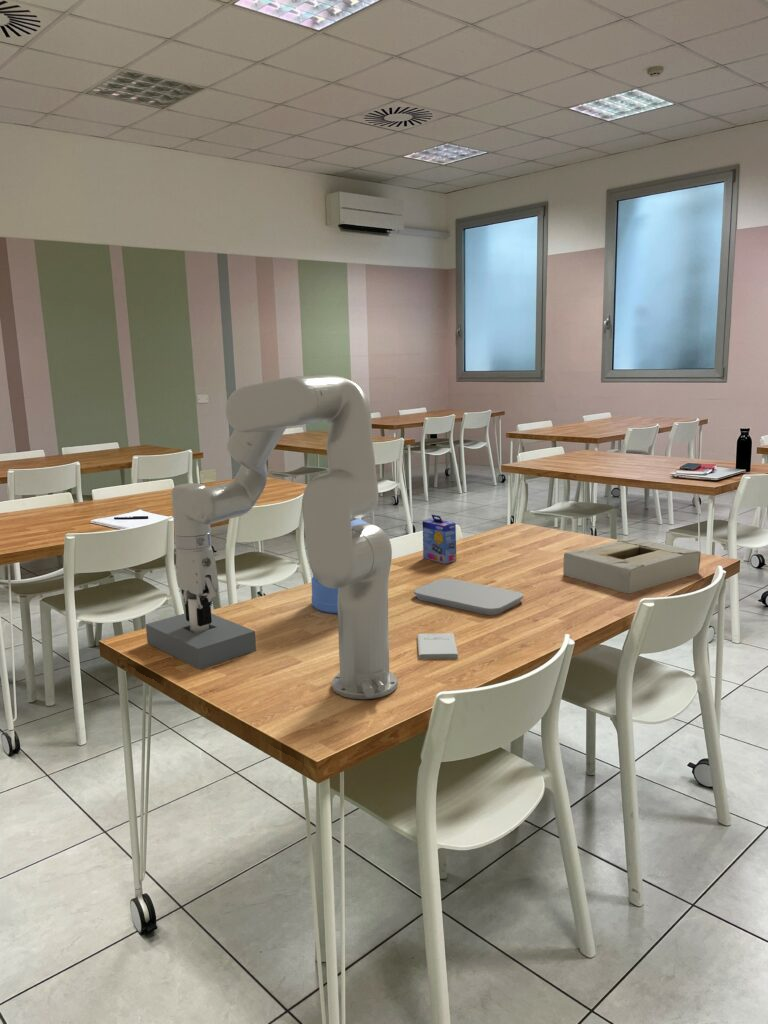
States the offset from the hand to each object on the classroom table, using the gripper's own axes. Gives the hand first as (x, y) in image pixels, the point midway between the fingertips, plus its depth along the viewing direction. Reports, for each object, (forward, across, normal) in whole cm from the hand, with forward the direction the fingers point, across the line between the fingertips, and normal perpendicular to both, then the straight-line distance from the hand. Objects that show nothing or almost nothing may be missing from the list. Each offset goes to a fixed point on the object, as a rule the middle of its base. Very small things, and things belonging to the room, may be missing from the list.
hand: (198, 621), depth 166 cm
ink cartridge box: (+6, +9, -91) cm, 91 cm away
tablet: (+6, -23, -66) cm, 70 cm away
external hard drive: (+7, -39, -35) cm, 53 cm away
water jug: (+6, -2, -41) cm, 41 cm away
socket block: (+6, 0, 0) cm, 6 cm away
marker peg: (+4, 0, 0) cm, 4 cm away
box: (+6, -43, -114) cm, 122 cm away
